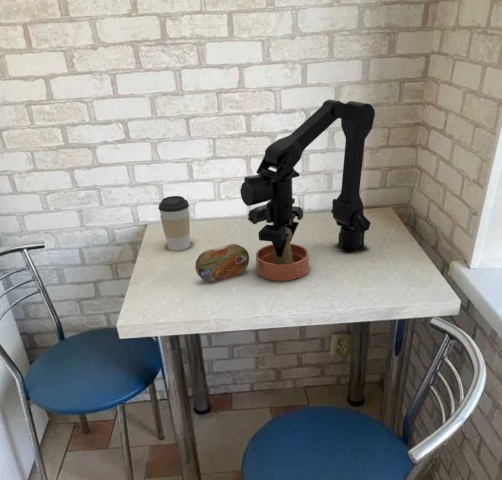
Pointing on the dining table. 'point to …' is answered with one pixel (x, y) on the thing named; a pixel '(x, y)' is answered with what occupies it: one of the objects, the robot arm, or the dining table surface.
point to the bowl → (282, 270)
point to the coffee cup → (175, 222)
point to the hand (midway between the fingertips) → (282, 253)
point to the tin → (222, 262)
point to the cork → (287, 252)
